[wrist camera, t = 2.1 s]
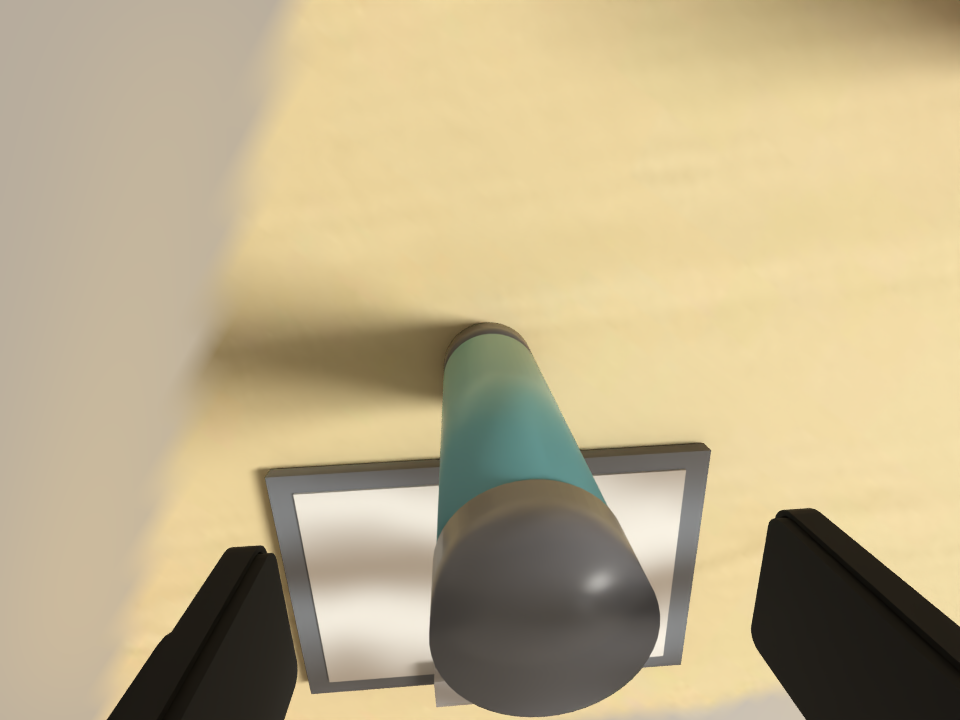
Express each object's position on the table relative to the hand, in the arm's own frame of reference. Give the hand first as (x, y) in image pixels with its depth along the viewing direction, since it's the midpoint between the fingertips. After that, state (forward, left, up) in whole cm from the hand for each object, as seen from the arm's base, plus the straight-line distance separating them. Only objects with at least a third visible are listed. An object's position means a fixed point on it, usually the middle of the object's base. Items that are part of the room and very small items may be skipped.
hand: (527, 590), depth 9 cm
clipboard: (+9, 0, -10) cm, 14 cm away
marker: (-1, 0, -10) cm, 10 cm away
